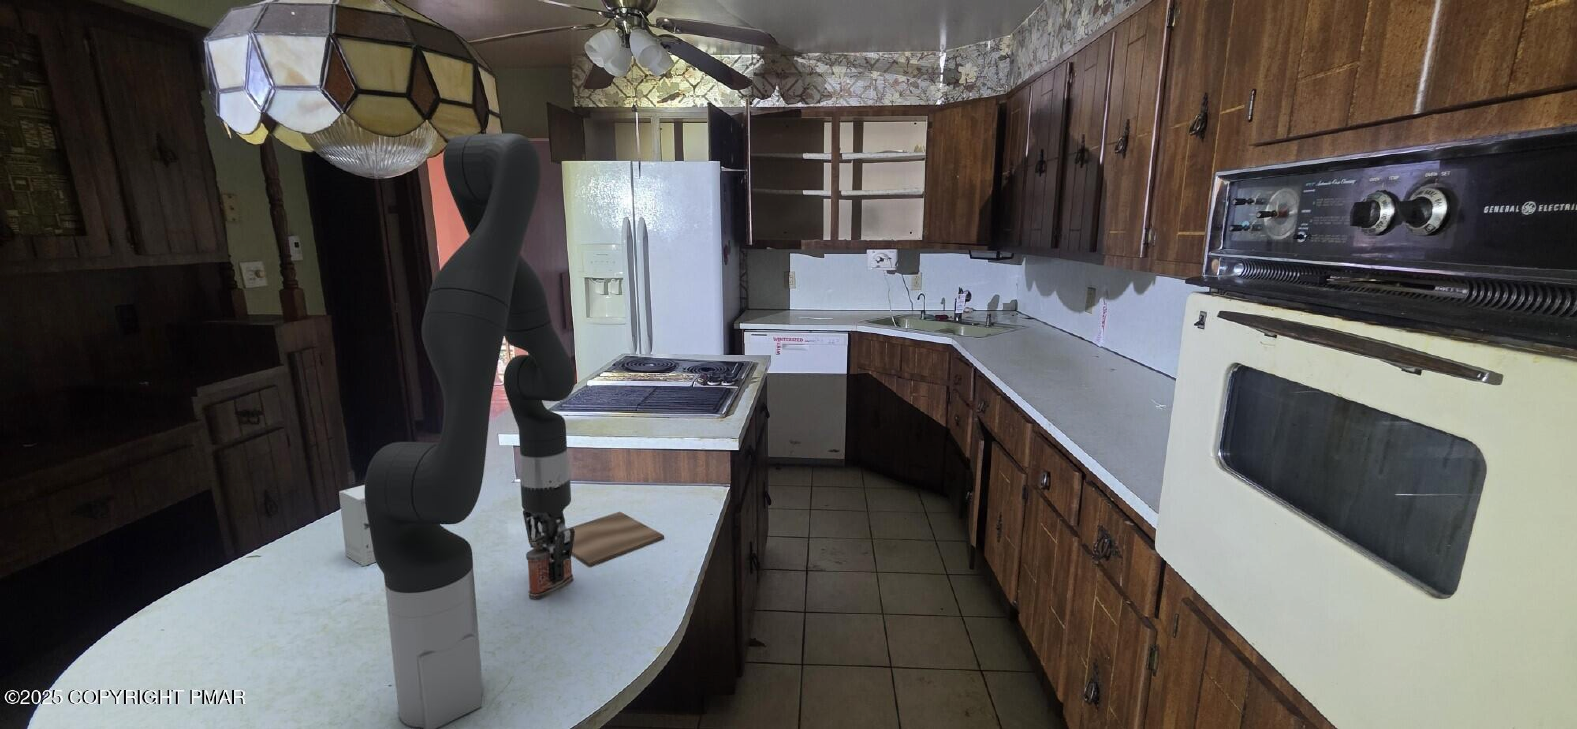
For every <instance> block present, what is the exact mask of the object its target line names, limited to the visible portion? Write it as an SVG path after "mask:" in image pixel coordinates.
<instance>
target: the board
mask: <svg viewBox="0 0 1577 729" xmlns="http://www.w3.org/2000/svg"><path fill="white" fill-rule="evenodd" d="M566 528H567V527H566ZM571 528H573V529H574V531H575V536H574V542H573V549H572V555H571V557H574V558H575V559H577V560H578V561H580V562H581V563H582V564H584V565H585V564H586V566H587V567H588V568H591V567H594V566H597V565H599V564H603V563H605V562H607V561H609V560H613V559H615V558H618V557H620V556H623V555H625V554H628V553H627V552H629V553H631V552H634V551H636V550H639V549H641V548H644V547H647V546H649V544H650V545H652V544H654V542H655V543H658V542H660V541H663V540H665V535H664V534H663V533H661V532H659V531H657V530H655V529H654V528H652V527H649V526H648V525H646V524H644V523H642V522H640V521H638V520H636V519H635V518H633V517H631V516H629V515H627V514H625V513H623V512H621V511H617V512H614V513H611V514H608V515H605V516H602V517H599V518H596V519H593V520H590V521H586V522H583V523H581V524H577V525H574V526H570V527H568V528H567V529H571ZM662 539H663V540H662ZM657 541H658V542H657ZM646 545H647V546H646ZM633 550H634V551H633ZM617 556H618V557H617ZM596 564H597V565H596Z"/></svg>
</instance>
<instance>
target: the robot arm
mask: <svg viewBox="0 0 1577 729" xmlns="http://www.w3.org/2000/svg"><path fill="white" fill-rule="evenodd" d="M442 156H443V158H442V165H443V166H442V167H443V171H444V175H445V179H446V183H447V186H448V188H449V191H450V194H451V196H452V199H453V201H454V204H455V206H456V208H457V210H458V212H459V213H458V214H460V217H461V219H462V222H463V224H464V227H465V229H466V231H467V233H468V238H467V239H466V240H465V241H464V242H463V243H462V244H461V245H460V246H459V247H458V249H456V250H455V252H454V253H453V254H452V255H451V256H450V257H449V259H448V260H447V261H446V262H444V264H443V266H442V267H441V268H440V269H439V271H438V272H437V274H436V276H435V277H434V279H433V280H432V283H431V286H430V290H429V293H428V297H427V301H426V302H427V303H426V306H425V311H424V315H423V319H422V323H421V338H422V342H423V345H424V349H425V351H426V352H425V353H426V355H427V357H428V360H429V361H430V364H431V366H432V368H433V371H434V373H435V375H436V377H437V380H438V383H439V386H440V389H441V391H442V397H443V404H444V407H443V408H444V409H443V420H442V421H443V422H442V428H441V434H440V437H439V441H438V442H421V441H420V442H418V441H397V442H396V441H395V442H392V443H388V444H386V445H385V446H382V448H380V449H379V450H378V451H377V452H376V453H375V454H374V455H373V457H372V459H371V460H370V462H369V465H368V467H367V469H366V470H367V471H366V474H365V478H364V485H365V489H364V493H365V505H366V512H367V518H368V523H369V528H370V534H371V540H372V545H373V552H374V557H375V560H376V562H375V563H376V565H377V566H378V569H380V571H381V572H382V573H383V574H382V575H383V579H384V587H385V598H386V607H387V608H386V609H387V618H388V626H389V627H388V628H389V635H390V636H389V637H390V645H391V647H390V648H391V655H392V656H391V657H392V664H393V674H394V684H395V690H396V698H397V701H396V702H397V707H398V708H397V709H398V717H399V719H400V720H401V722H402V723H404V725H406V726H409V727H414V728H422V729H438V728H440V727H442V726H445V725H446V724H448V723H450V722H452V721H454V720H456V719H459V718H461V717H462V716H464V715H466V714H469V713H471V712H473V711H475V710H477V709H479V708H480V707H482V705H483V704H482V695H483V694H484V693H483V692H484V691H483V690H484V686H483V671H482V660H481V649H480V647H481V646H480V637H479V622H478V613H477V612H478V611H477V600H476V587H475V576H474V575H475V572H474V561H473V559H474V556H473V550H472V546H471V544H470V542H469V541H467V539H466V538H464V537H462V536H460V535H459V534H456V533H454V532H453V531H450V530H448V529H447V528H445V527H444V526H442V525H456V524H459V523H461V522H463V521H465V520H466V519H467V518H468V517H469V516H470V515H471V513H472V512H473V510H474V508H475V507H476V504H477V502H478V499H479V496H480V492H481V491H482V490H481V489H482V485H483V480H484V472H485V465H486V463H485V462H486V458H487V456H486V455H487V446H488V445H487V444H488V435H489V427H490V426H489V425H490V424H489V423H490V415H491V414H490V413H491V405H492V398H493V394H494V393H493V392H494V387H495V380H496V376H497V369H498V365H499V360H500V354H501V352H502V351H501V350H502V347H503V343H504V342H503V341H504V339H505V341H506V342H507V343H508V345H510V346H512V347H515V348H518V349H520V350H523V351H525V352H526V353H527V354H519V355H518V354H517V355H515V356H514V357H512V358H511V359H510V360H509V361H508V363H507V364H506V366H505V369H504V372H503V389H504V392H505V395H506V398H507V400H508V404H509V407H510V409H511V411H512V415H513V417H514V420H515V423H516V425H517V427H518V439H519V440H518V441H519V442H518V443H519V453H520V457H519V458H520V459H519V468H518V469H519V482H520V485H519V486H520V498H521V507H522V509H523V510H522V515H523V521H524V525H525V529H526V530H525V531H526V534H527V540H528V544H529V545H530V541H531V539H533V538H535V537H538V536H540V535H541V536H542V542H543V547H544V548H545V549H547V553H548V559H549V578H550V582H552V583H556V582H559V581H562V580H563V579H564V560H566V559H570V558H571V559H572V549H573V542H574V536H575V531H574V529H573V528H571V529H567V526H566V519H565V515H564V510H565V509H566V508H567V507H568V506H569V505H570V504H571V502H572V488H571V487H572V486H571V473H570V472H571V471H570V470H571V468H570V459H569V454H568V443H567V442H568V441H567V440H568V439H567V424H566V420H565V417H564V416H562V415H561V414H559V413H557V412H554V411H551V410H550V409H548V408H547V407H546V406H545V404H544V402H561V401H563V400H566V399H567V398H568V397H569V396H570V395H571V394H572V392H573V391H574V388H575V383H576V373H575V368H574V365H573V362H572V360H571V358H570V355H569V354H568V352H567V350H566V349H565V347H564V344H563V343H562V341H561V339H560V337H559V335H558V334H557V331H556V330H555V329H554V326H553V322H552V317H551V312H550V307H549V304H548V299H547V295H546V292H545V288H544V286H543V283H542V281H541V280H540V278H539V277H538V275H537V273H536V271H534V269H533V268H532V267H531V265H530V264H529V262H528V261H527V260H526V259H525V258H524V256H522V255H521V252H522V247H523V244H524V239H525V237H526V234H527V231H528V227H529V224H530V221H531V218H532V215H533V212H534V209H535V206H536V202H537V198H538V195H539V190H540V185H541V175H542V174H541V173H542V170H541V167H542V166H541V160H540V156H539V152H538V150H537V147H536V145H535V144H534V143H533V142H532V140H530V139H529V138H528V137H526V136H524V135H522V134H517V133H508V132H507V133H506V132H505V133H502V132H501V133H482V134H479V133H478V134H465V135H464V134H462V135H458V136H455V137H452V138H451V139H450V140H448V141H447V143H446V145H445V146H444V151H443V155H442ZM543 401H544V402H543ZM553 539H556V541H553V542H550V543H549V541H550V540H553ZM554 547H555V550H554V553H553V548H554Z"/></svg>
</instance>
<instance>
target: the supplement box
mask: <svg viewBox="0 0 1577 729" xmlns="http://www.w3.org/2000/svg"><path fill="white" fill-rule="evenodd" d="M364 489H365V484H363V485H359V486H355V487H352V488H347V489H344V490H343V489H342V490H340V491H339V492H338V495H339V504H340V514H341V522H342V532H343V540H344V549H345V550H344V551H345V556H346V557H348V558H349V559H351V560H352V561H354V562H355V563H358V564H359V565H360V566H363V567H366V566H368V565H370V564H373V563H376V560H375V557H374V552H373V545H372V540H371V534H370V528H369V523H368V518H367V512H366V505H365V493H364Z"/></svg>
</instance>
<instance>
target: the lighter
mask: <svg viewBox="0 0 1577 729" xmlns="http://www.w3.org/2000/svg"><path fill="white" fill-rule="evenodd" d="M553 541H556V539H553V540H550V541H549V543H550V542H553ZM529 546H530V548H532V549H530V550H528V551H527V552H526V554H525V556H526V557H525V559H526V560H527V567H528V583H529V590H528V598H529V599H530V600H532V601H539V600H542V599H545V598H548V597H549V596H552V595H553V594H555V593H557V592H559V591H561V590H563V589H565V588H566V587H567V586H569V585H570V584H572V583H573V582H574V575H573V571H572V570H573V569H572V568H573V567H572V557H571V558H570V559H566V560H564V579H563V580H562V581H559V582H556V583H552V582H550V578H549V559H548V553H547V549H545V548H544V547H543V542H542V536H541V535H540V536H538V537H535V538H533V539H531V541H530V544H529ZM554 550H555V547H554V548H553V553H554Z"/></svg>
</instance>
